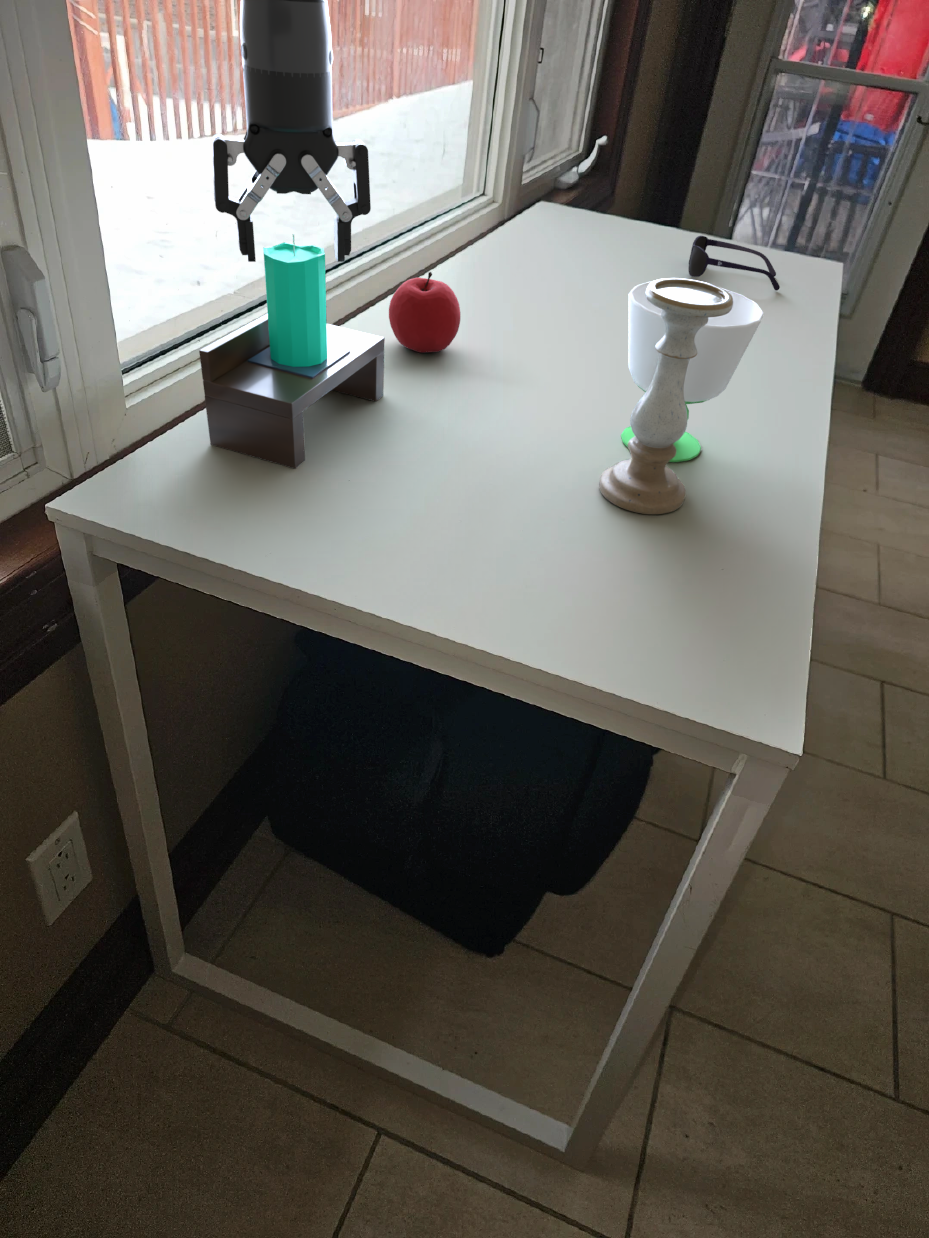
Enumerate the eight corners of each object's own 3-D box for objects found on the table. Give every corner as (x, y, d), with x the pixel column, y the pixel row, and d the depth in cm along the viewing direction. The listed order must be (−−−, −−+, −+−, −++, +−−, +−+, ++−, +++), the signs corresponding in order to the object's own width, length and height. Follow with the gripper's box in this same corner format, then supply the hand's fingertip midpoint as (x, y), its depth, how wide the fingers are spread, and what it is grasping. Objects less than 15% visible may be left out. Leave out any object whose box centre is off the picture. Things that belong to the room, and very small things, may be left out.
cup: (579, 444, 93) (605, 300, 83) (631, 405, 102) (661, 271, 92) (694, 487, 88) (737, 338, 78) (738, 441, 97) (782, 303, 87)
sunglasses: (686, 260, 153) (693, 231, 150) (773, 272, 151) (782, 243, 148) (686, 282, 143) (694, 251, 139) (780, 295, 141) (790, 265, 138)
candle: (339, 355, 89) (337, 235, 81) (301, 372, 85) (296, 247, 77) (296, 340, 91) (290, 221, 83) (257, 355, 87) (247, 233, 79)
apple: (461, 339, 114) (467, 263, 108) (453, 365, 107) (460, 285, 101) (394, 331, 114) (396, 255, 108) (382, 356, 107) (384, 276, 101)
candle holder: (666, 471, 90) (717, 276, 77) (696, 515, 83) (758, 310, 70) (588, 471, 88) (627, 273, 76) (612, 516, 82) (660, 308, 69)
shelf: (295, 469, 84) (290, 373, 78) (210, 444, 86) (198, 350, 80) (383, 395, 99) (385, 310, 92) (308, 376, 101) (305, 292, 95)
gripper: (362, 61, 76) (361, 248, 86) (199, 51, 73) (218, 247, 83) (377, 73, 71) (374, 272, 81) (201, 63, 67) (222, 272, 77)
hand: (295, 259), depth 82 cm, fingers open, 8 cm apart
